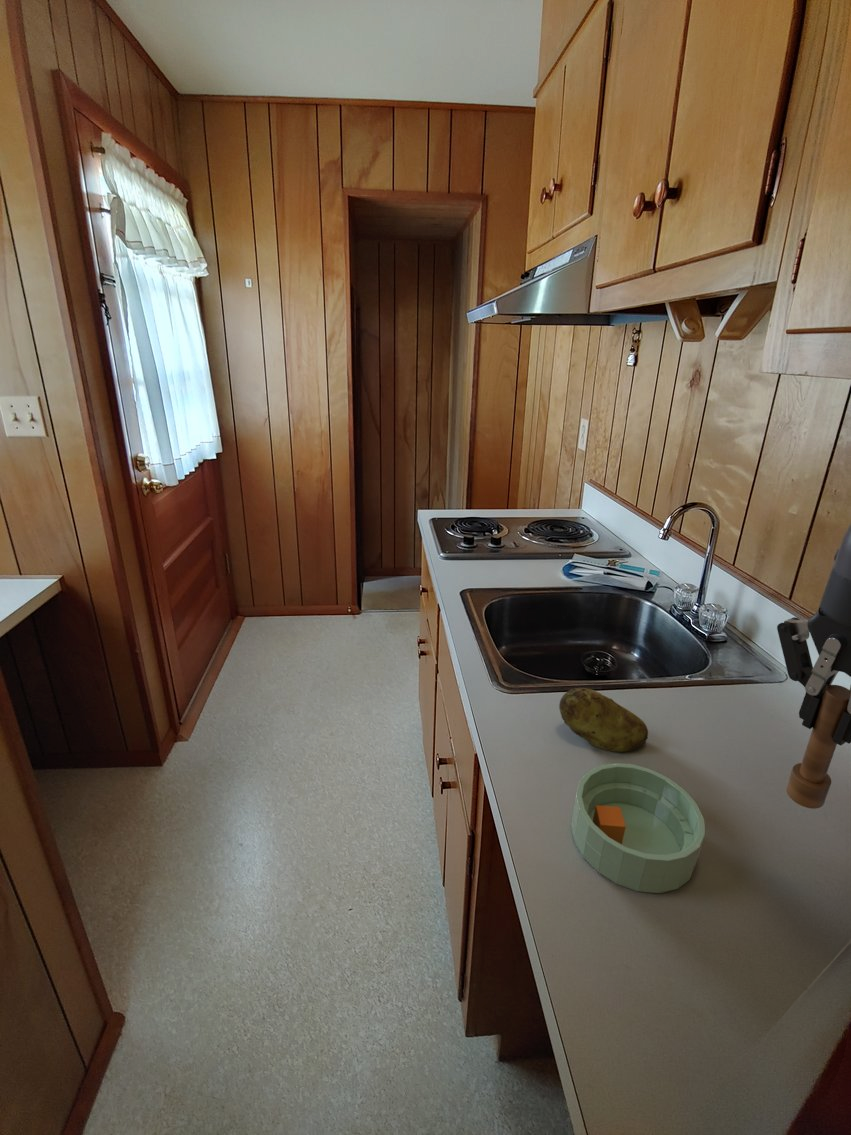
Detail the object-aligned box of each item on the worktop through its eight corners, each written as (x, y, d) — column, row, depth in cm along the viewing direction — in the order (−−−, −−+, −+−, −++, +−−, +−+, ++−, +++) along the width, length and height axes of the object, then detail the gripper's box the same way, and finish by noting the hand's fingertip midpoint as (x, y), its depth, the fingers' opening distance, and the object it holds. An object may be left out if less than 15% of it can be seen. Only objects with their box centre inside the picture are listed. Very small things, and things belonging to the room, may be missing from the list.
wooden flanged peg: (799, 778, 61) (832, 676, 54) (831, 800, 58) (870, 695, 52) (778, 790, 59) (809, 687, 53) (810, 813, 57) (846, 708, 50)
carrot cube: (592, 822, 70) (595, 804, 69) (616, 824, 70) (620, 807, 68) (596, 842, 67) (600, 824, 66) (621, 844, 67) (625, 826, 66)
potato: (633, 774, 79) (643, 729, 76) (549, 738, 85) (555, 696, 82) (648, 742, 85) (658, 699, 82) (568, 711, 92) (574, 670, 88)
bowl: (622, 782, 77) (629, 749, 75) (719, 860, 66) (731, 824, 64) (546, 826, 70) (552, 790, 68) (640, 921, 59) (650, 883, 57)
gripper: (1008, 594, 44) (926, 762, 51) (821, 541, 55) (774, 685, 62) (974, 616, 40) (891, 794, 47) (781, 554, 51) (735, 706, 58)
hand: (825, 731), depth 55 cm, fingers closed on wooden flanged peg, 2 cm apart
